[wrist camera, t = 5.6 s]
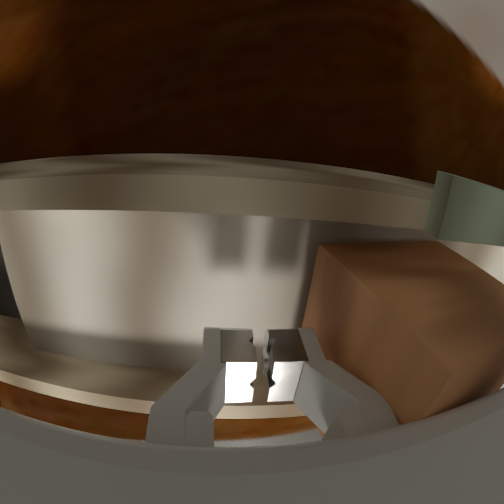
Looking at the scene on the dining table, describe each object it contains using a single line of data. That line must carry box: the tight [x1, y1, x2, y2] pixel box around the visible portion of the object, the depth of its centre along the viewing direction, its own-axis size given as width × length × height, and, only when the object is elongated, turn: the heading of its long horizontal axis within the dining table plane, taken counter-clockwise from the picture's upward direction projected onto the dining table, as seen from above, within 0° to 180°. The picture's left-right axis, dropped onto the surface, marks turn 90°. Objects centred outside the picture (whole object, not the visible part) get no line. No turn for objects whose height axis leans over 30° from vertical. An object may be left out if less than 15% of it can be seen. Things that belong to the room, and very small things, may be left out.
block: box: [302, 241, 504, 437], centre depth 9 cm, size 6×6×6 cm
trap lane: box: [0, 154, 504, 419], centre depth 12 cm, size 42×12×5 cm, turn 85°
